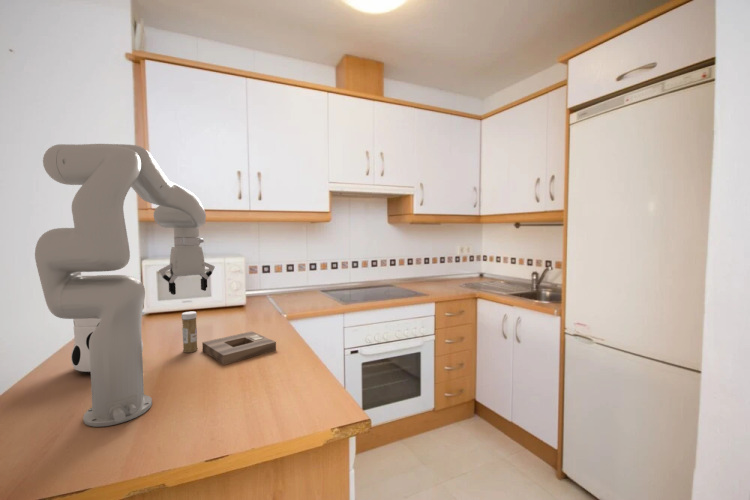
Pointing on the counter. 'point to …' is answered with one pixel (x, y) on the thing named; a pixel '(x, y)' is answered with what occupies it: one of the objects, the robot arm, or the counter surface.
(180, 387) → the counter surface
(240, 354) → the socket board
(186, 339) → the sprinkles bottle
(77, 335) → the milk container
